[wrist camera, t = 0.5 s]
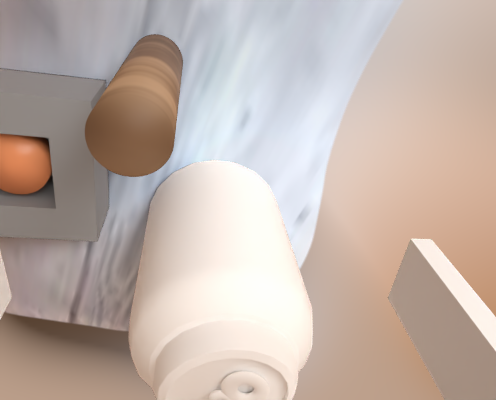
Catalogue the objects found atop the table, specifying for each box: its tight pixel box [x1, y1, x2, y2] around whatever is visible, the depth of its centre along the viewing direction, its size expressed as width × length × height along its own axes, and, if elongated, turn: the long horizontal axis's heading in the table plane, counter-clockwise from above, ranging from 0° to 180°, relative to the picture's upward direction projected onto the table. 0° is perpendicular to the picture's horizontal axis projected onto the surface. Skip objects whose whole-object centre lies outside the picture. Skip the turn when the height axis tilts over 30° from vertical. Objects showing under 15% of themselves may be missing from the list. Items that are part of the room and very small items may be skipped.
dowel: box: [85, 34, 183, 177], centre depth 26 cm, size 4×4×16 cm
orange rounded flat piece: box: [0, 134, 52, 194], centre depth 32 cm, size 5×5×2 cm
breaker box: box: [0, 68, 109, 242], centre depth 32 cm, size 12×12×6 cm
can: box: [128, 160, 313, 400], centre depth 32 cm, size 12×12×20 cm
